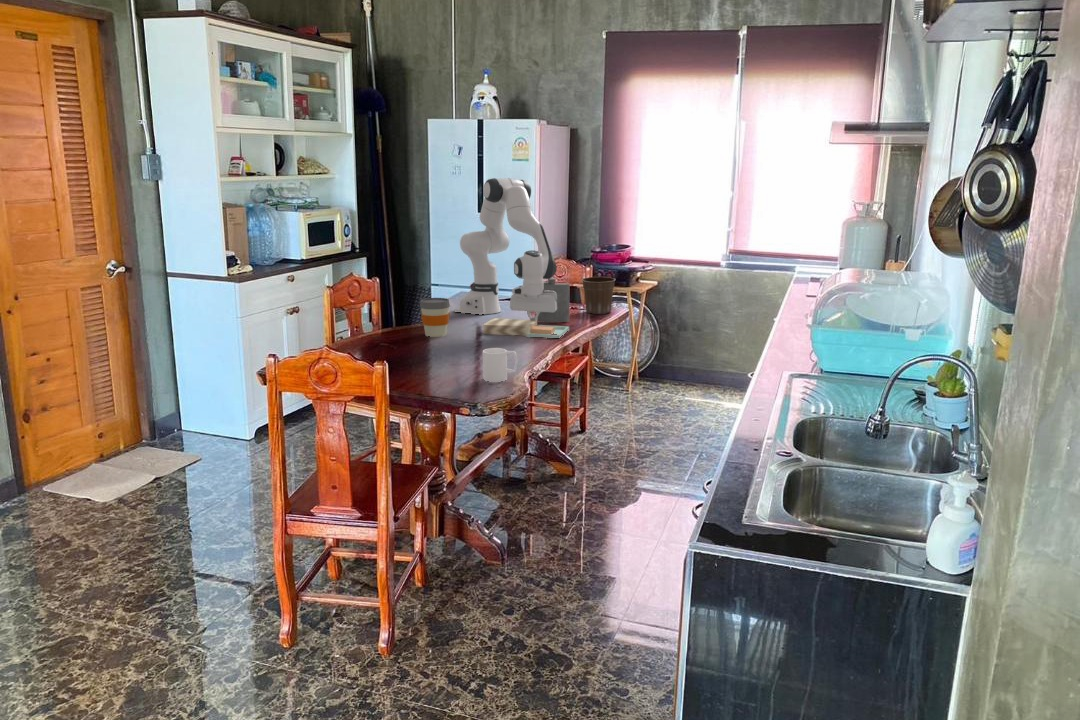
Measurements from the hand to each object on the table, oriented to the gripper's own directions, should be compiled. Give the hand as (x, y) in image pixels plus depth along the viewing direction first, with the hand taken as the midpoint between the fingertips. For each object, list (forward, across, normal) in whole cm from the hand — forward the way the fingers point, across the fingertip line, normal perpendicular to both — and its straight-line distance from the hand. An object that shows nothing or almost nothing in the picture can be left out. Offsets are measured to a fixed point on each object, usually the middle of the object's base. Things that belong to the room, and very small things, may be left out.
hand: (533, 321), depth 350 cm
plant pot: (+5, -18, -52) cm, 55 cm away
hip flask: (+5, -2, -25) cm, 25 cm away
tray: (+5, -7, 0) cm, 8 cm away
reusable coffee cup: (+5, +39, +14) cm, 42 cm away
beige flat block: (+5, +10, 0) cm, 11 cm away
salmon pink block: (+4, -4, 0) cm, 6 cm away
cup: (+5, -9, +73) cm, 74 cm away
